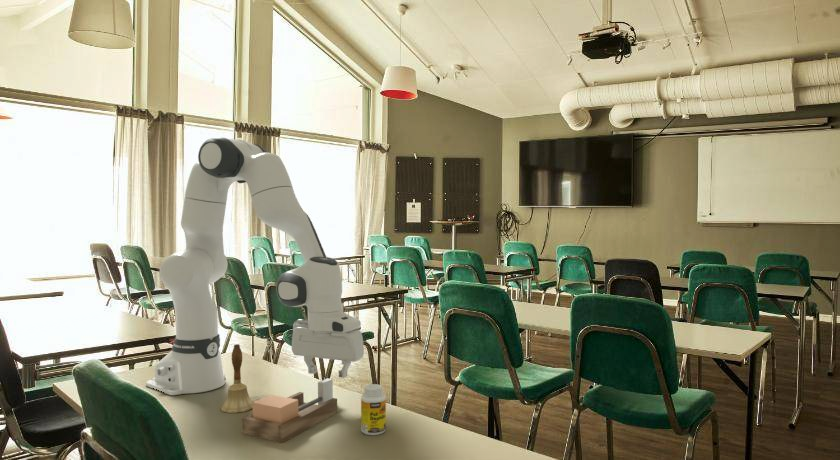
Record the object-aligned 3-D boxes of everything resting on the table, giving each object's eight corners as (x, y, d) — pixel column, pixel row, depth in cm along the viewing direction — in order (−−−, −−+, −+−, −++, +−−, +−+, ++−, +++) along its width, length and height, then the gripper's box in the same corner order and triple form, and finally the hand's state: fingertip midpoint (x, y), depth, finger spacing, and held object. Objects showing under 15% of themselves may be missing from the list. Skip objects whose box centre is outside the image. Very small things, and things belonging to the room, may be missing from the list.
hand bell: (214, 407, 147) (213, 345, 146) (245, 399, 152) (243, 339, 152) (230, 415, 141) (229, 350, 140) (261, 407, 147) (260, 344, 146)
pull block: (253, 430, 130) (252, 402, 130) (317, 399, 151) (317, 374, 151) (281, 437, 127) (280, 408, 126) (343, 404, 148) (342, 378, 147)
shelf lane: (242, 433, 130) (242, 417, 130) (299, 405, 148) (299, 391, 147) (282, 442, 125) (282, 426, 124) (337, 412, 142) (337, 398, 142)
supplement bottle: (368, 438, 127) (368, 392, 126) (357, 430, 131) (356, 385, 131) (390, 432, 130) (390, 387, 129) (378, 424, 134) (378, 381, 134)
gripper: (285, 320, 149) (287, 374, 149) (352, 326, 139) (354, 383, 140) (300, 316, 154) (302, 367, 155) (366, 321, 145) (368, 376, 146)
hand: (327, 375), depth 147 cm, fingers open, 8 cm apart
